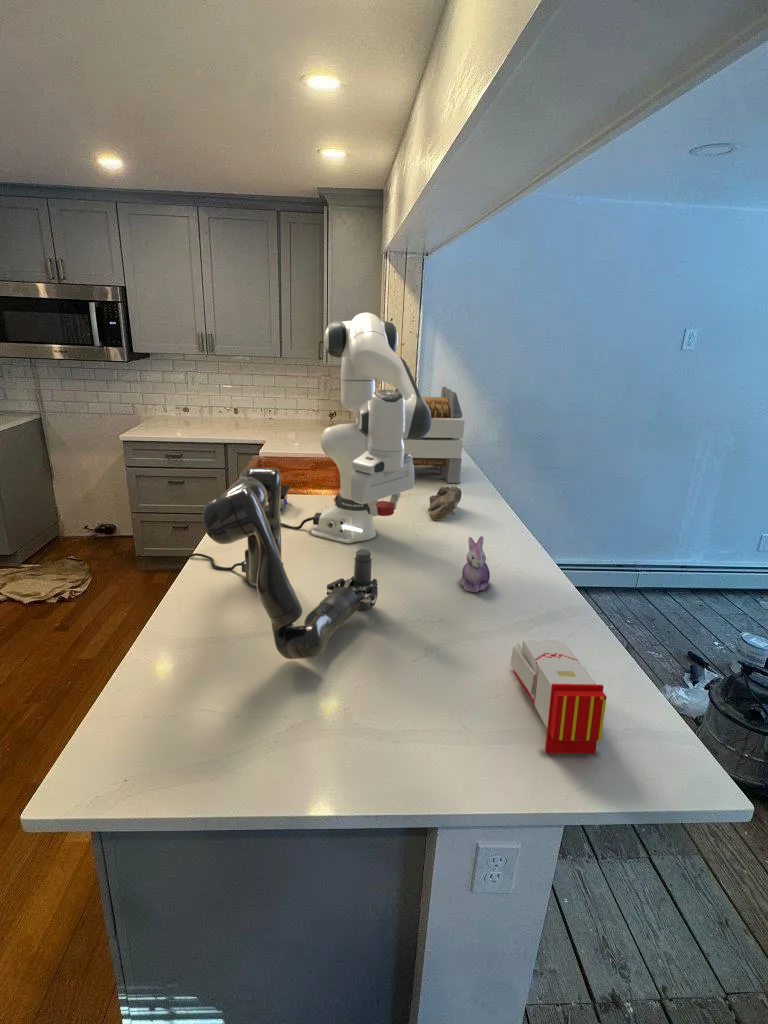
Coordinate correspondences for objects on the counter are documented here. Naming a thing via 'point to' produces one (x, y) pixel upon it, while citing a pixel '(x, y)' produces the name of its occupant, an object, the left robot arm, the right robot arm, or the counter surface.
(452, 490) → the fossil
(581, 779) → the counter surface
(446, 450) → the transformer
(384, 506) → the lid
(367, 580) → the cylinder
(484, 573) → the figurine
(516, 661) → the toy
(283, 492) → the figurine character
